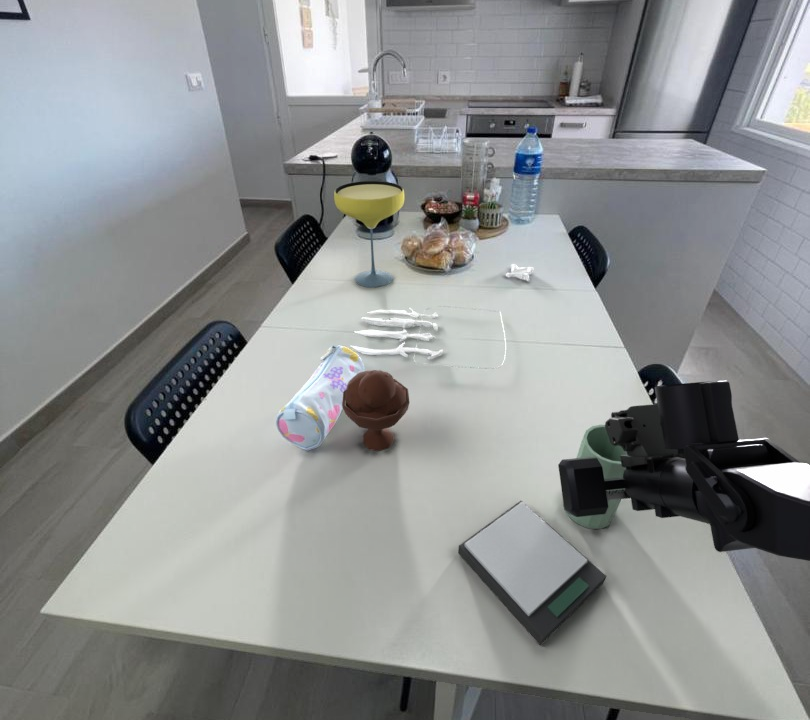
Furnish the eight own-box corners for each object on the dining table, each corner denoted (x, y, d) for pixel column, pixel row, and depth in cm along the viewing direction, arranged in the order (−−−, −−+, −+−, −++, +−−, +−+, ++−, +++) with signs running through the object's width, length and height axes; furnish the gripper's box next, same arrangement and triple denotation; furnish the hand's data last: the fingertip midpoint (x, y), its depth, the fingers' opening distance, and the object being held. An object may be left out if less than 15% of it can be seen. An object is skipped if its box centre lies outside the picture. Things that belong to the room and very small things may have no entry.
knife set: (366, 303, 116) (366, 299, 116) (502, 311, 112) (503, 307, 112) (342, 360, 96) (341, 356, 95) (507, 372, 92) (508, 368, 91)
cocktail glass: (342, 267, 135) (334, 181, 121) (401, 264, 137) (401, 179, 122) (341, 295, 121) (332, 201, 106) (408, 291, 122) (408, 198, 108)
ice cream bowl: (421, 430, 79) (422, 362, 70) (385, 473, 71) (382, 401, 62) (371, 409, 83) (367, 342, 74) (333, 447, 76) (323, 377, 67)
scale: (603, 583, 56) (608, 573, 55) (540, 645, 51) (544, 636, 49) (519, 507, 66) (521, 497, 64) (457, 553, 60) (459, 542, 58)
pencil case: (328, 376, 92) (323, 337, 86) (368, 383, 90) (365, 344, 84) (277, 449, 75) (267, 407, 70) (325, 460, 73) (318, 417, 68)
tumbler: (622, 512, 65) (651, 447, 57) (593, 538, 61) (620, 472, 54) (582, 481, 69) (604, 417, 61) (553, 504, 66) (572, 439, 58)
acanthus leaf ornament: (510, 268, 135) (511, 262, 134) (533, 271, 133) (534, 265, 132) (505, 277, 129) (505, 271, 128) (528, 281, 127) (530, 275, 126)
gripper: (755, 399, 47) (660, 407, 62) (584, 414, 45) (529, 419, 60) (778, 510, 45) (674, 490, 60) (601, 530, 43) (540, 504, 58)
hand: (605, 473), depth 60 cm, fingers open, 9 cm apart
